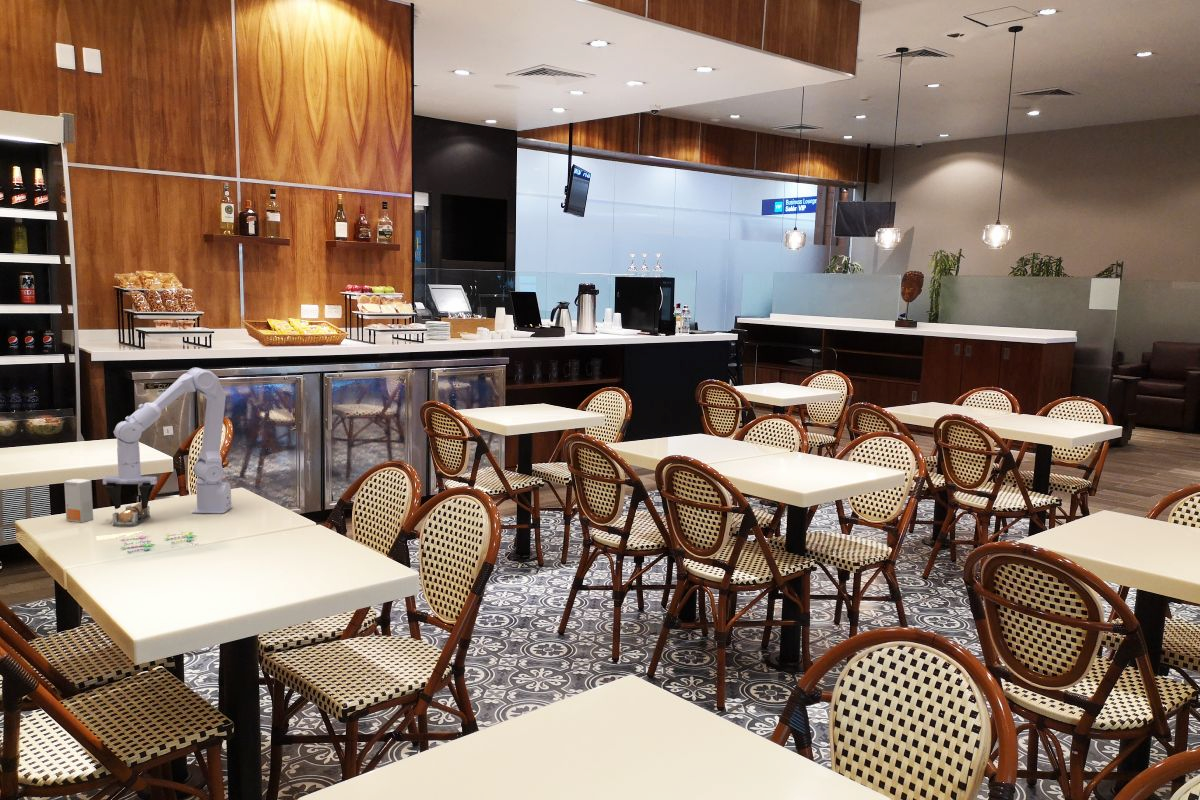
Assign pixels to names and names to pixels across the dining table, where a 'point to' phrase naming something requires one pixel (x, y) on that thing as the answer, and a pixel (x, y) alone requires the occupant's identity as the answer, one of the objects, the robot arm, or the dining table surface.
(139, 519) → the cradle
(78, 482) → the skincare box
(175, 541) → the clear flat square panel
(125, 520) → the tube
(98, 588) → the dining table surface
